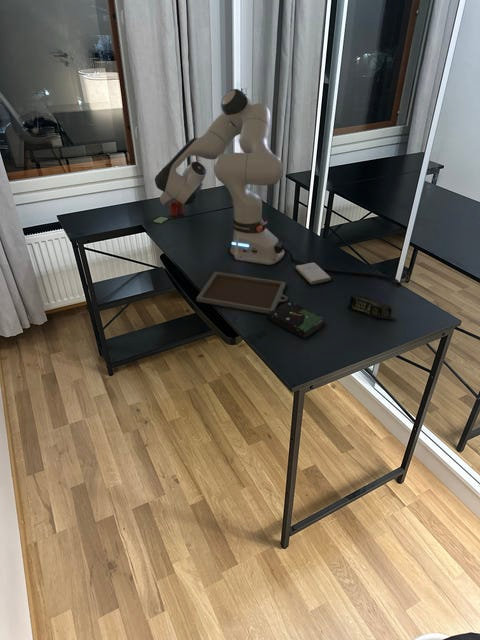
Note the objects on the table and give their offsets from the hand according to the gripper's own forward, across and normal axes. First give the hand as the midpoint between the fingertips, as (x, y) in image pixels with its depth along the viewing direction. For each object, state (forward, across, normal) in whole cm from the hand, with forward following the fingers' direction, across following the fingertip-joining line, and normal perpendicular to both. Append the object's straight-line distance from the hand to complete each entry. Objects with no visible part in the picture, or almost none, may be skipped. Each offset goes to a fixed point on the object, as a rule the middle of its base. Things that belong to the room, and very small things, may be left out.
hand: (175, 202), depth 206 cm
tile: (+4, +9, +5) cm, 11 cm away
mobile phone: (-74, 0, +84) cm, 112 cm away
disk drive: (-65, +22, +74) cm, 101 cm away
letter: (+4, 0, +5) cm, 6 cm away
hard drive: (-53, -5, +63) cm, 83 cm away
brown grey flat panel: (-48, +23, +58) cm, 79 cm away
